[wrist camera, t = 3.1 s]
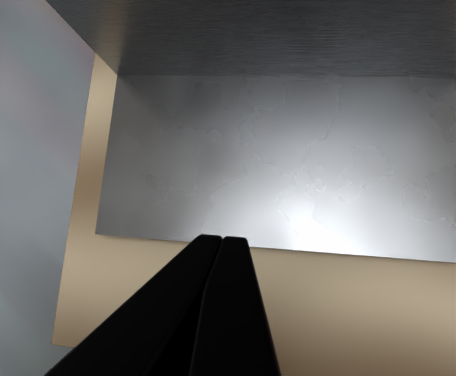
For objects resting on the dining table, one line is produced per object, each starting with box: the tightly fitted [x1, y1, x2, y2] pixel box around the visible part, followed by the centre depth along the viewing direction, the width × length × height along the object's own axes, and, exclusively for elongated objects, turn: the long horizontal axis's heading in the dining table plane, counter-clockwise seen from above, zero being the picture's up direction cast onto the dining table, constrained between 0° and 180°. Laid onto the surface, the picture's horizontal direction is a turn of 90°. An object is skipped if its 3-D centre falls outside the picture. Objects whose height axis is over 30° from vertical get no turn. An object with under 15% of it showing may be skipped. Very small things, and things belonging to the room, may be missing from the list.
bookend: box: [46, 0, 456, 264], centre depth 9 cm, size 7×12×13 cm, turn 85°
